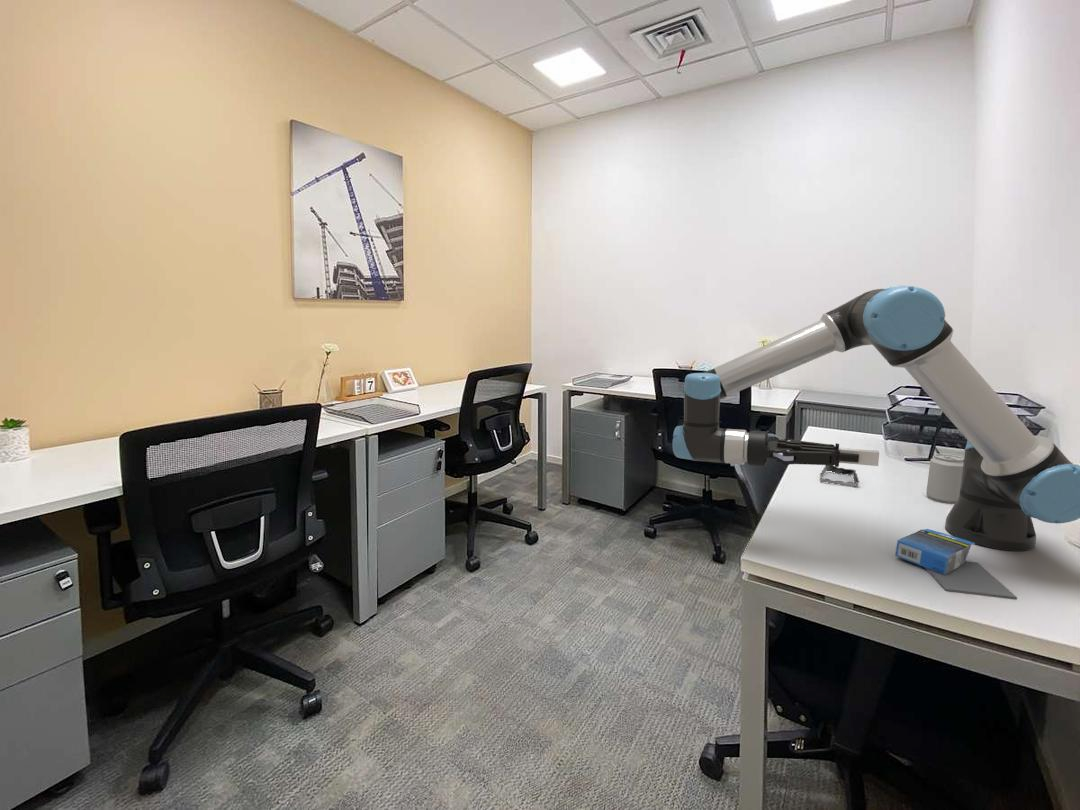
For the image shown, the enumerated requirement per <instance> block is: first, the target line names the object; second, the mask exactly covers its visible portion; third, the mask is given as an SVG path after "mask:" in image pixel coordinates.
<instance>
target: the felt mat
mask: <svg viewBox="0 0 1080 810" xmlns="http://www.w3.org/2000/svg"><path fill="white" fill-rule="evenodd" d="M923 568H924V569H925V570H926V571H927V572H928V573H929V575H930V576H932V578H933V579H934V580H935V582H937V583H938V584H939V586H941V588H942V589H943V590H944V591H946V592H953V593H963V594H969V595H977V596H985V597H996V598H1002V599H1010V600H1017V599H1018V597H1017V596H1016V595H1015V594H1014V593H1013V592H1012V591H1010V589H1008V588H1007V587H1006V586H1005V585H1004V584H1003V583H1002V582H1001V581H999V580H998V579H997V578H995V576H993V575H992V574H991V573H990V572H989V571H988V570H987V569H986V568H984V567H983V566H982V565H981V564H980V563H979V562H975V561H967V560H965V563H964V564H963V565H961V566H959V567H958V568H956V569H954V570H952V571H951V572H949V573H947V574H945V575H944V574H941V573H939V572H936V571H933V570H931V569H928V568H925V567H923Z"/></svg>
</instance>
